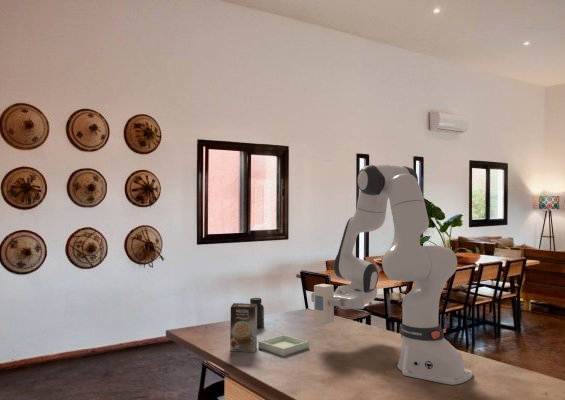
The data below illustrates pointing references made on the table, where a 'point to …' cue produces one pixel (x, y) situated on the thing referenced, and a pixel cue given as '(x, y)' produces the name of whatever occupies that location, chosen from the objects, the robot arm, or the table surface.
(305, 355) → the table surface
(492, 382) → the table surface
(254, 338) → the coffee box
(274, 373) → the table surface
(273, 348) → the tray
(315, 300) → the box
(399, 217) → the robot arm
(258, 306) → the supplement bottle
